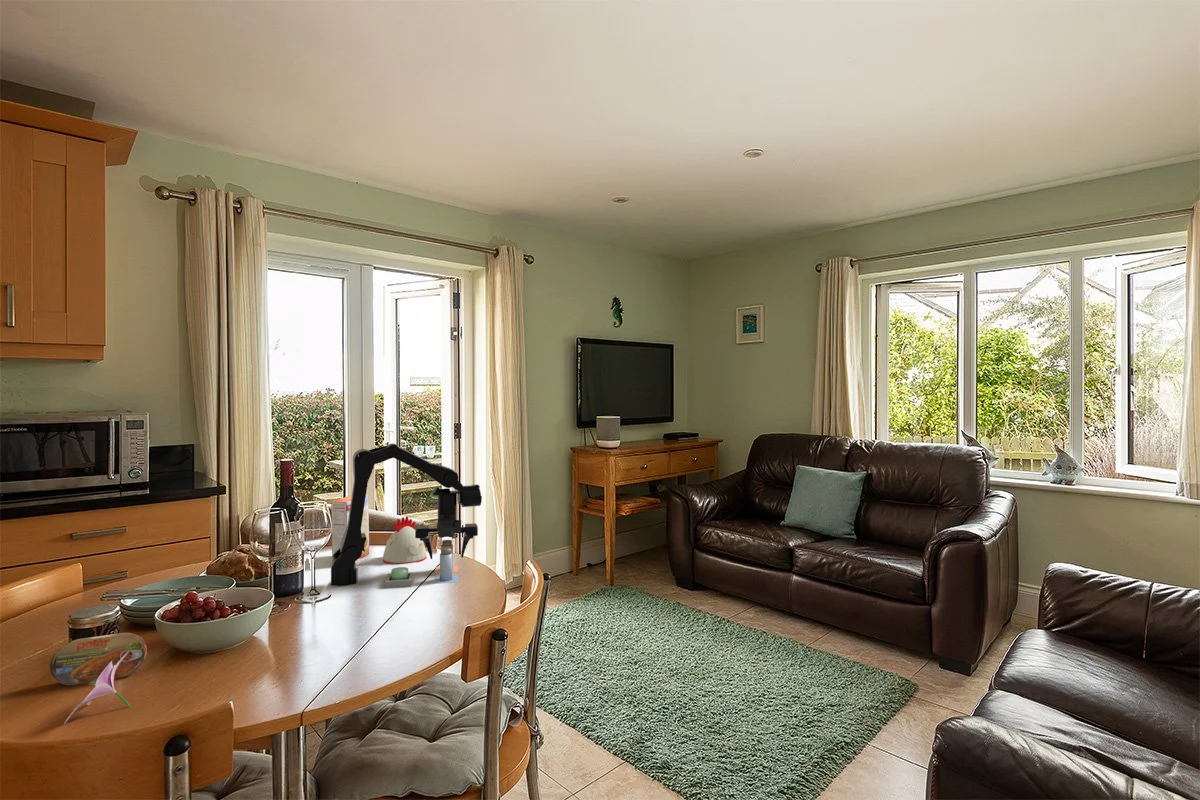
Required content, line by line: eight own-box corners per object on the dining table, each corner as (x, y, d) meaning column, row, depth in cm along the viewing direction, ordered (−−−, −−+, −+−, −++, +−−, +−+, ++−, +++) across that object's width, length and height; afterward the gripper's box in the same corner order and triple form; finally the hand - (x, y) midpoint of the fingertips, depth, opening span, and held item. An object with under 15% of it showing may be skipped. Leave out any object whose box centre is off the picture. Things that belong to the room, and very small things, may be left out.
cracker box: (353, 553, 213) (353, 493, 212) (369, 554, 212) (369, 494, 211) (330, 564, 199) (330, 500, 198) (347, 565, 198) (347, 501, 197)
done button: (390, 582, 174) (390, 572, 174) (392, 577, 179) (392, 567, 179) (407, 581, 175) (407, 571, 175) (408, 576, 180) (408, 566, 180)
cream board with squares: (383, 592, 173) (383, 581, 173) (391, 572, 191) (391, 562, 191) (463, 587, 177) (463, 577, 177) (463, 568, 196) (463, 559, 196)
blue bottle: (439, 581, 179) (439, 550, 179) (440, 577, 182) (440, 547, 182) (452, 580, 180) (452, 550, 179) (452, 577, 183) (452, 547, 183)
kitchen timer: (374, 563, 202) (374, 517, 201) (408, 553, 213) (408, 511, 213) (400, 570, 194) (401, 523, 193) (435, 560, 205) (435, 516, 205)
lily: (127, 693, 117) (96, 654, 115) (171, 676, 114) (140, 637, 112) (69, 746, 106) (32, 705, 104) (116, 730, 103) (79, 687, 101)
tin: (48, 689, 117) (48, 645, 116) (55, 681, 119) (55, 639, 119) (144, 675, 123) (144, 633, 122) (148, 668, 125) (148, 627, 125)
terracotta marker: (440, 571, 189) (440, 542, 188) (441, 568, 192) (441, 539, 192) (452, 570, 189) (452, 541, 189) (452, 567, 193) (453, 539, 193)
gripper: (413, 514, 180) (413, 567, 181) (478, 512, 184) (477, 563, 185) (416, 507, 191) (416, 557, 192) (477, 505, 195) (477, 554, 196)
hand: (446, 558), depth 191 cm, fingers open, 9 cm apart
